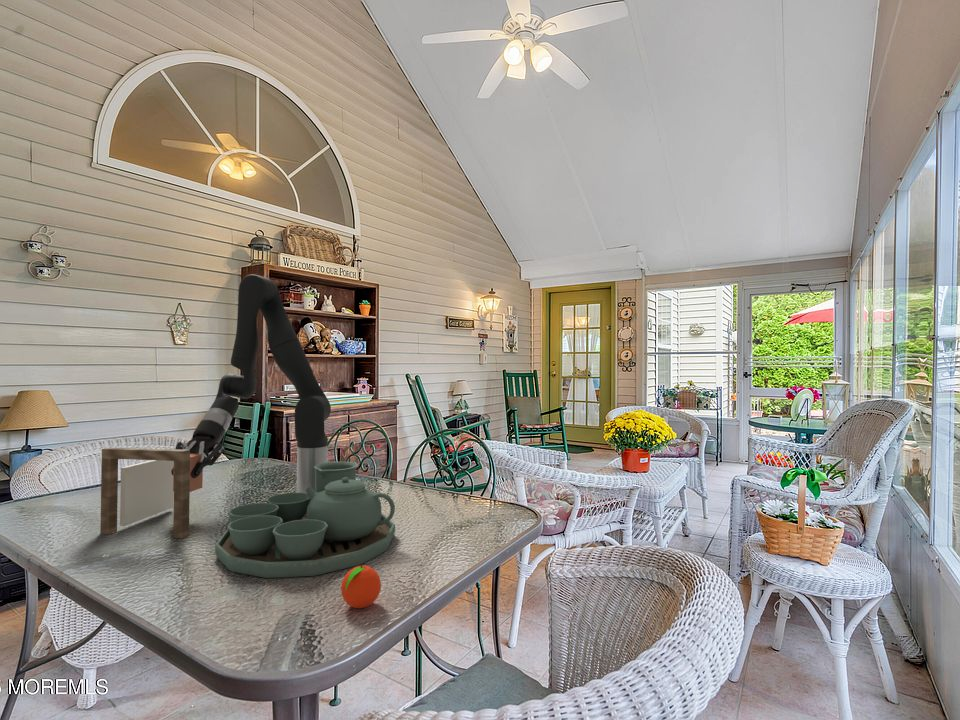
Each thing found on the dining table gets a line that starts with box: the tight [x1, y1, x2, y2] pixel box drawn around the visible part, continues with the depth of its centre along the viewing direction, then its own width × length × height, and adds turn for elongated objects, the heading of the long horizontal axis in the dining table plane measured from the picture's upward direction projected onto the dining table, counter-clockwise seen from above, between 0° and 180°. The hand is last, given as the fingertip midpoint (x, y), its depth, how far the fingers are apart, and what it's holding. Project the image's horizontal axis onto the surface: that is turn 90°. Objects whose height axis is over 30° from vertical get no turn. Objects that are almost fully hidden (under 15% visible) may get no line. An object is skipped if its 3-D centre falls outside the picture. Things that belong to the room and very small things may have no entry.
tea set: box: [214, 461, 396, 579], centre depth 119 cm, size 40×40×16 cm
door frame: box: [99, 446, 191, 539], centre depth 125 cm, size 22×2×21 cm, turn 83°
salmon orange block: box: [173, 453, 204, 493], centre depth 138 cm, size 5×5×10 cm
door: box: [119, 460, 174, 527], centre depth 137 cm, size 17×2×15 cm, turn 173°
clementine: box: [340, 565, 382, 609], centre depth 88 cm, size 8×7×7 cm
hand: (183, 475), depth 136 cm, fingers closed on salmon orange block, 5 cm apart
